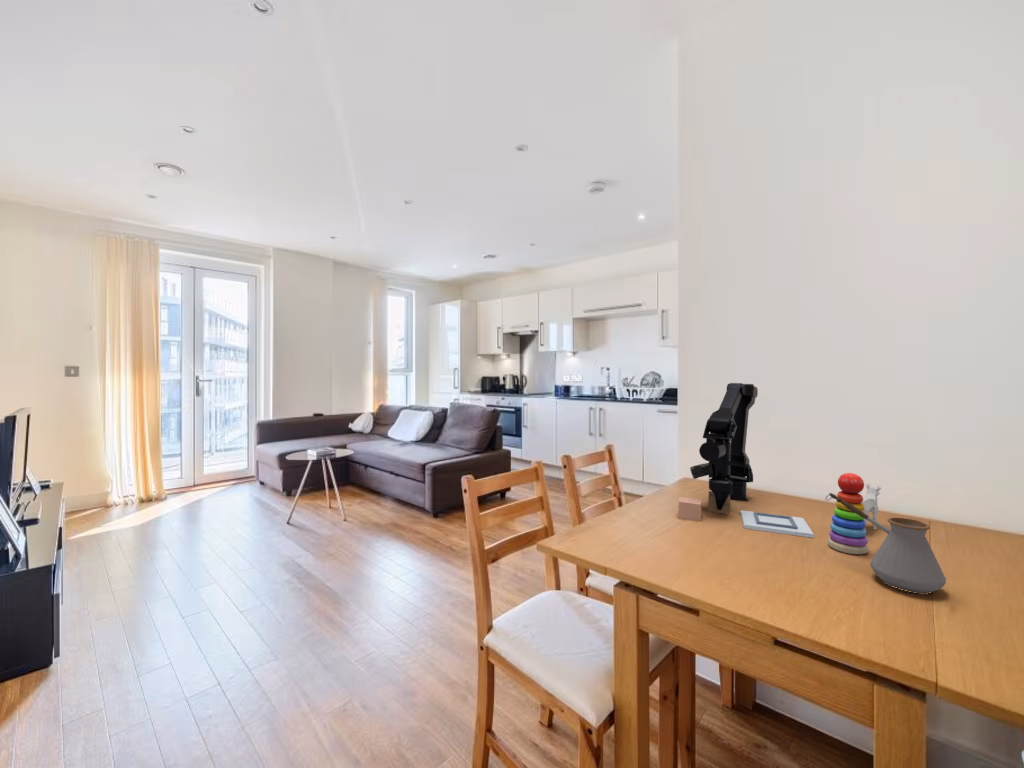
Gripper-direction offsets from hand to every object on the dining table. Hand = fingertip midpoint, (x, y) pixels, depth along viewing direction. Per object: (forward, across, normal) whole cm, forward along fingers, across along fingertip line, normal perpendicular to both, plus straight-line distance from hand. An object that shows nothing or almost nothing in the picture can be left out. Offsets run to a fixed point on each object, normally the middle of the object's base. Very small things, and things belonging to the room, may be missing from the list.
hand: (718, 506), depth 137 cm
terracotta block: (+1, +11, -8) cm, 14 cm away
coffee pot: (+1, +34, +30) cm, 45 cm away
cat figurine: (+1, +3, +35) cm, 35 cm away
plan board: (+1, +8, +14) cm, 16 cm away
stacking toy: (+1, +20, +28) cm, 34 cm away
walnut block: (+1, 0, 0) cm, 1 cm away
